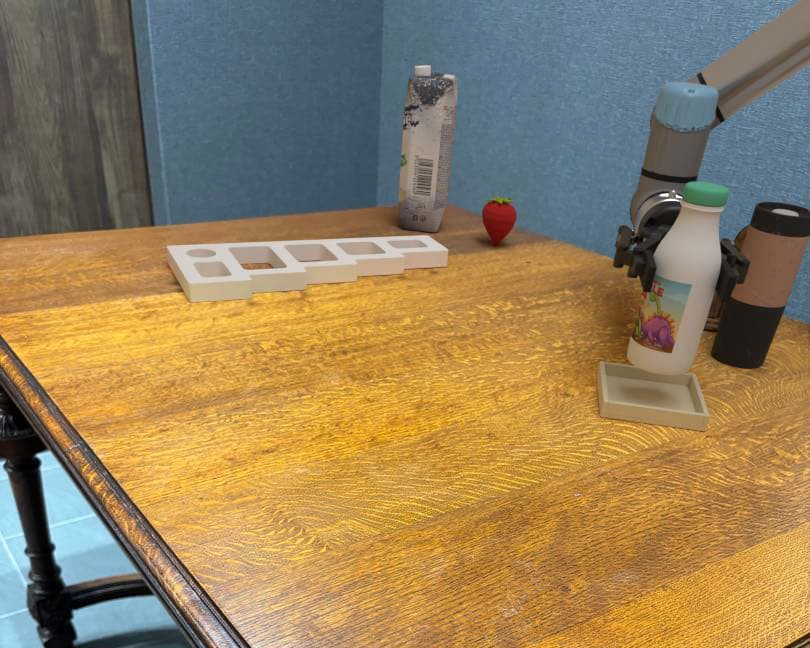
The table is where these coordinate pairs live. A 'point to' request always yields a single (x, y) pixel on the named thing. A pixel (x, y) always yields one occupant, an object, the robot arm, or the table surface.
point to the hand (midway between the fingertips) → (689, 284)
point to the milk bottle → (680, 285)
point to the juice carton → (426, 149)
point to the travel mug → (762, 284)
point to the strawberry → (498, 218)
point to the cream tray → (651, 397)
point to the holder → (295, 264)
